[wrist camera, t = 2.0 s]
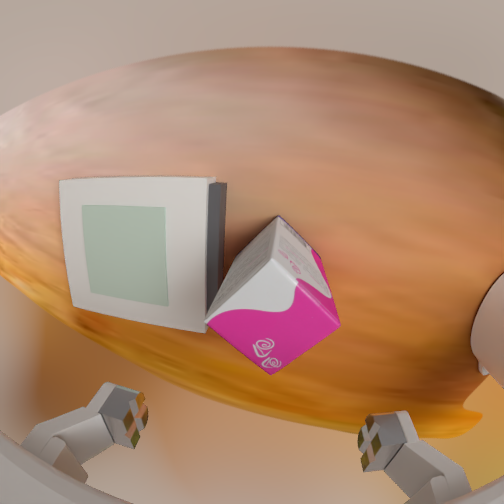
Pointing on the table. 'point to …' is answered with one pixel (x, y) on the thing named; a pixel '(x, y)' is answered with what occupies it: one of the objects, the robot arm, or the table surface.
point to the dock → (145, 246)
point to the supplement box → (274, 299)
